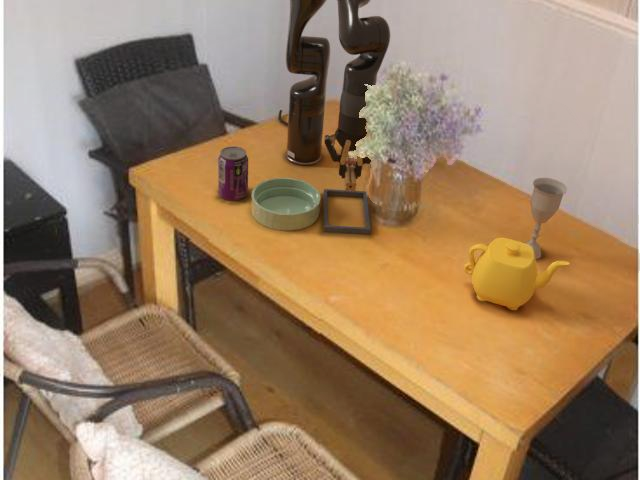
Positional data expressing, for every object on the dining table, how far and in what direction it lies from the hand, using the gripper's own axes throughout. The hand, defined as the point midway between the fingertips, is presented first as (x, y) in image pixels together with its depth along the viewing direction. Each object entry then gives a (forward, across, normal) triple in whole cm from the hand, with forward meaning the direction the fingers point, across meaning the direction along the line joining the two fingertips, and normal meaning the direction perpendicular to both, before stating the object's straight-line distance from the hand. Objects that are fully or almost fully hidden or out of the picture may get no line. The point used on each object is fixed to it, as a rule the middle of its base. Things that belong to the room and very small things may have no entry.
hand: (349, 176), depth 170 cm
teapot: (+11, -34, +27) cm, 44 cm away
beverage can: (+11, +27, -6) cm, 30 cm away
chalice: (+11, -43, +11) cm, 45 cm away
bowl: (+11, +14, 0) cm, 18 cm away
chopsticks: (0, 0, 0) cm, 0 cm away
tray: (+11, 0, 0) cm, 11 cm away
